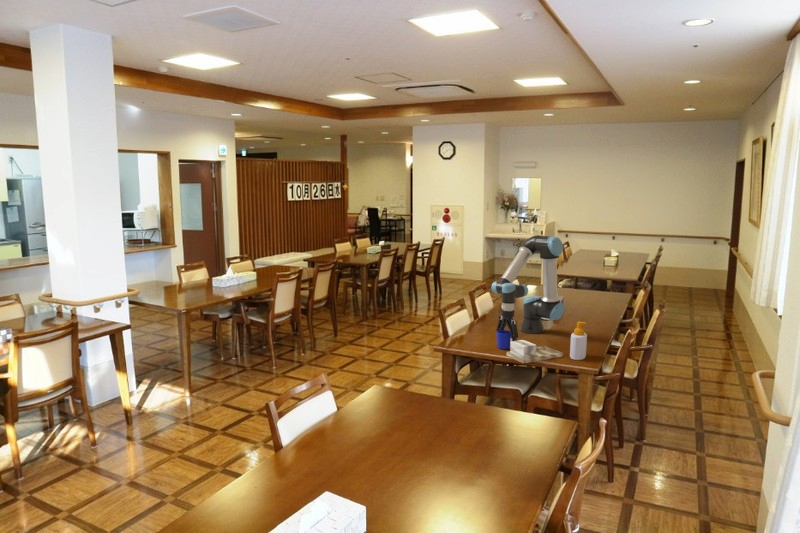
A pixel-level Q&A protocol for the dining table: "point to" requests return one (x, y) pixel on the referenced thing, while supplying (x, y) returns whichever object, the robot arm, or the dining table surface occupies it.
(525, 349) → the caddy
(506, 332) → the mug
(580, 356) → the soap bottle
